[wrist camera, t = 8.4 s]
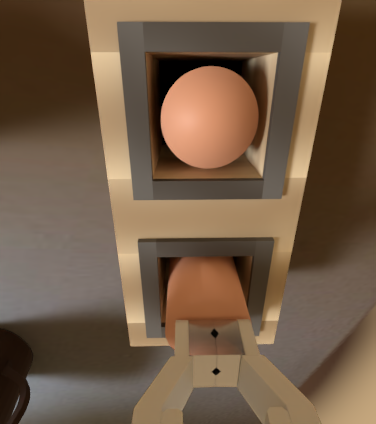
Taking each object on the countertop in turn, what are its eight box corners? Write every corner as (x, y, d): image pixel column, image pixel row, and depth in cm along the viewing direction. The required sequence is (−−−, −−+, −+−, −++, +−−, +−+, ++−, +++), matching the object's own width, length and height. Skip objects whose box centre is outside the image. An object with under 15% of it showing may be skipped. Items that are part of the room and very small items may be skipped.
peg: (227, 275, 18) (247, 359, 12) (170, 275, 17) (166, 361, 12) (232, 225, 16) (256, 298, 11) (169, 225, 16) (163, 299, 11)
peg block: (249, 274, 21) (274, 348, 15) (143, 276, 21) (129, 351, 15) (281, 19, 14) (350, -19, 8) (120, 19, 14) (77, -21, 8)
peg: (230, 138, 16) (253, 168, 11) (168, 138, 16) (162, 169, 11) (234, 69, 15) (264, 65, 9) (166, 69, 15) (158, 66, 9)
